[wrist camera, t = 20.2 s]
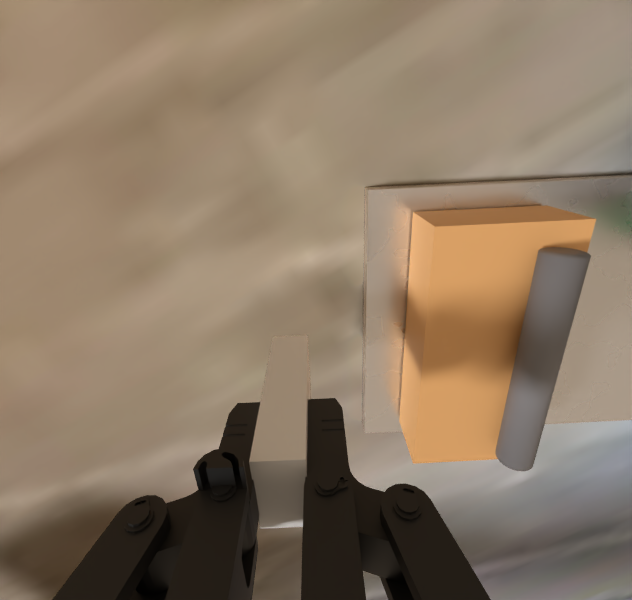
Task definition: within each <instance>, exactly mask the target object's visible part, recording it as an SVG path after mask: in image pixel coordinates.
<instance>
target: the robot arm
mask: <svg viewBox="0 0 632 600" xmlns="http://www.w3.org/2000/svg"><path fill="white" fill-rule="evenodd" d="M193 470H194V474H195V478H196V482H197V486H198V489H199V490H198V491H196V492H195V493H193V494H191V495H189V496H187V497H184V498H181V499H179V500H176V501H173V502H170V503H167V504H166V503H165V502H164V500H163V499H162V498H160V497H158V496H156V495H146V496H143V497H140V498H137V499H135V500H133V501H132V502H130V503H129V504H127V505H126V506H125V507H124V508H123V509H122V510H121V511H120V512H119V513H118V514H117V515H116V516H115V518H114V519H113V520H112V522H111V523H110V524H109V526H108V527H107V528H106V530H105V531H104V532H103V534H102V535H101V536H100V538H99V539H98V540H97V542H96V543H95V544H94V546H93V547H92V548H91V550H90V551H89V552H88V553H87V555H86V556H85V557H84V559H83V560H82V561H81V563H80V564H79V565H78V567H77V568H76V569H75V571H74V572H73V573H72V575H71V576H70V577H69V579H68V580H67V581H66V583H65V584H64V585H63V587H62V588H61V589H60V591H59V592H58V593H57V595H56V596H55V597H54V598H53V600H252V593H253V585H254V577H255V569H256V561H257V553H258V543H257V536H256V534H257V527H258V519H259V525H260V529H262V528H287V527H303V543H302V586H301V600H366V596H365V588H364V579H363V571H366V572H369V573H372V574H375V575H378V576H380V578H381V581H382V584H383V586H384V589H385V592H386V594H387V597H388V600H491V599H490V598H489V596H488V594H487V593H486V591H485V589H484V588H483V586H482V584H481V583H480V581H479V579H478V578H477V576H476V574H475V573H474V571H473V569H472V568H471V566H470V564H469V563H468V561H467V559H466V558H465V556H464V554H463V553H462V551H461V549H460V548H459V546H458V544H457V543H456V541H455V539H454V538H453V536H452V534H451V533H450V531H449V529H448V528H447V526H446V524H445V523H444V521H443V519H442V518H441V516H440V514H439V513H438V511H437V509H436V508H435V506H434V504H433V503H432V501H431V499H430V498H429V497H428V496H427V495H426V494H425V492H424V491H422V490H420V489H419V488H417V487H415V486H412V485H408V484H395V485H393V486H391V487H389V488H388V489H387V490H386V491H385V492H383V491H379V490H375V489H372V488H369V487H366V486H364V485H363V484H361V483H359V482H358V481H357V480H356V479H355V478H354V477H353V475H352V473H351V472H350V468H349V463H348V455H347V446H346V437H345V429H344V421H343V411H342V407H341V406H340V404H339V403H338V401H337V400H336V399H335V398H329V399H311V384H310V367H309V351H308V335H295V336H273V338H272V343H271V348H270V354H269V359H268V364H267V370H266V375H265V380H264V386H263V391H262V396H261V401H260V402H256V403H238V404H237V405H236V406H235V407H234V408H233V410H232V411H231V412H230V413H229V416H228V419H227V423H226V427H225V430H224V433H223V437H222V440H221V443H220V447H219V449H217V450H213V451H211V452H209V453H207V454H205V455H204V456H203V457H202V458H201V459H200V460H199V461H198V462H197V464H196V465H195V467H194V469H193ZM362 570H363V571H362Z"/></svg>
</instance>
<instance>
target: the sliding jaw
mask: <svg viewBox="0 0 632 600" xmlns="http://www.w3.org/2000/svg"><path fill="white" fill-rule="evenodd" d="M595 222H596V219H595V218H591V217H588V216H584V215H580V214H577V213H573V212H569V211H566V210H562V209H558V208H555V207H551V206H547V205H545V206H524V207H504V208H483V209H462V210H441V211H420V212H413V219H412V235H411V250H410V265H409V280H408V295H407V311H406V326H405V341H404V356H403V372H402V387H401V402H400V417H399V422H400V425H401V428H402V431H403V434H404V437H405V440H406V443H407V446H408V449H409V452H410V455H411V458H412V461H413V463H432V462H451V461H470V460H489V459H498V460H499V461H500V462H501V463H502V464H503V465H505V466H506V467H508V468H510V469H513V470H517V471H527V470H529V469H531V468H532V467H533V464H534V460H535V457H536V453H537V449H538V446H539V442H540V438H541V435H542V431H543V428H544V424H545V420H546V417H547V413H548V410H549V406H550V402H551V399H552V395H553V392H554V388H555V384H556V381H557V377H558V374H559V370H560V366H561V363H562V359H563V355H564V352H565V348H566V345H567V341H568V337H569V334H570V330H571V327H572V323H573V319H574V316H575V312H576V309H577V305H578V301H579V298H580V294H581V291H582V287H583V283H584V280H585V276H586V272H587V269H588V265H589V262H590V258H591V255H590V254H589V253H587V252H588V248H589V244H590V241H591V237H592V233H593V230H594V226H595Z"/></svg>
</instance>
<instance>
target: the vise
mask: <svg viewBox="0 0 632 600" xmlns="http://www.w3.org/2000/svg"><path fill="white" fill-rule="evenodd" d="M545 205H547V206H551V207H555V208H558V209H562V210H566V211H569V212H573V213H577V214H580V215H584V216H588V217H591V218H595V219H596V222H595V226H594V230H593V233H592V237H591V241H590V244H589V248H588V252H587V253H589V254H590V255H591V258H590V262H589V265H588V269H587V272H586V276H585V280H584V283H583V287H582V291H581V294H580V298H579V301H578V305H577V309H576V312H575V316H574V319H573V323H572V327H571V330H570V334H569V337H568V341H567V345H566V348H565V352H564V355H563V359H562V363H561V366H560V370H559V374H558V377H557V381H556V384H555V388H554V392H553V395H552V399H551V402H550V406H549V410H548V413H547V417H546V420H545V424H558V423H578V422H597V421H617V420H632V175H614V176H593V177H572V178H551V179H530V180H509V181H488V182H467V183H446V184H425V185H404V186H383V187H365V214H364V299H363V384H362V424H363V429H364V433H383V432H403V431H402V428H401V425H400V422H399V417H400V402H401V387H402V372H403V356H404V341H405V326H406V311H407V295H408V280H409V265H410V250H411V235H412V219H413V212H420V211H441V210H462V209H483V208H504V207H524V206H545Z"/></svg>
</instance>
